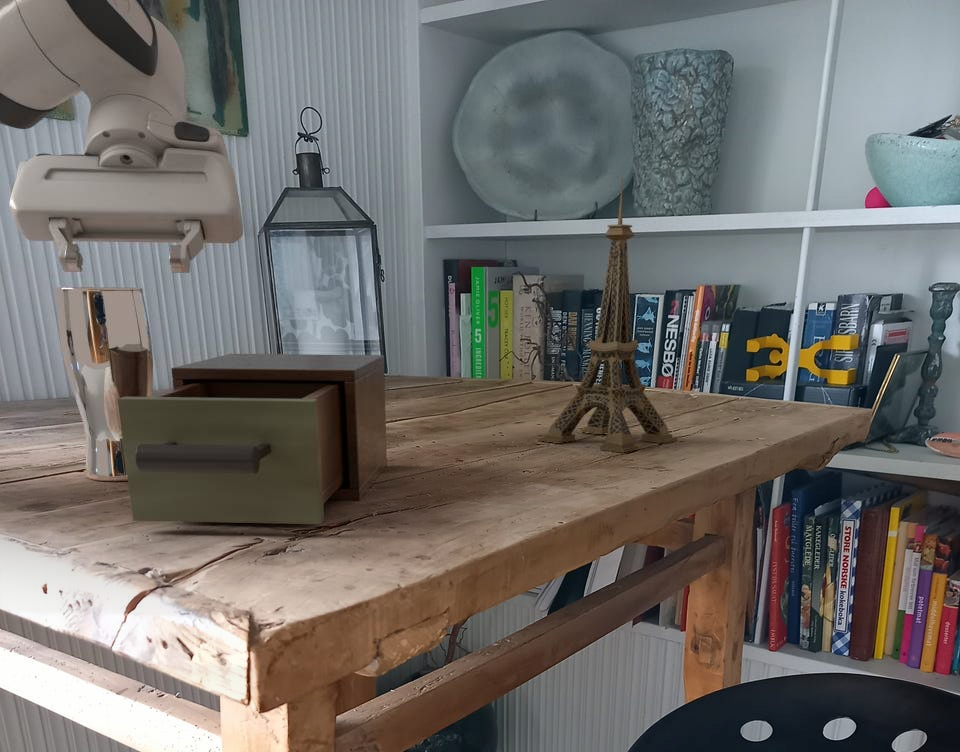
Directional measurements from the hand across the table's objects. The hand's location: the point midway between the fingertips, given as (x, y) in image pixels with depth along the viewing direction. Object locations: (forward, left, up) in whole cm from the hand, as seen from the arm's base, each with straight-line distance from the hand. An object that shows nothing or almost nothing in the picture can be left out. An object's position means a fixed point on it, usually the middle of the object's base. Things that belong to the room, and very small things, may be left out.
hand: (125, 267), depth 83 cm
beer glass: (+2, -10, -17) cm, 20 cm away
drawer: (+17, -25, -16) cm, 34 cm away
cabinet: (+17, -11, -17) cm, 26 cm away
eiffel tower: (+45, +12, -17) cm, 50 cm away
